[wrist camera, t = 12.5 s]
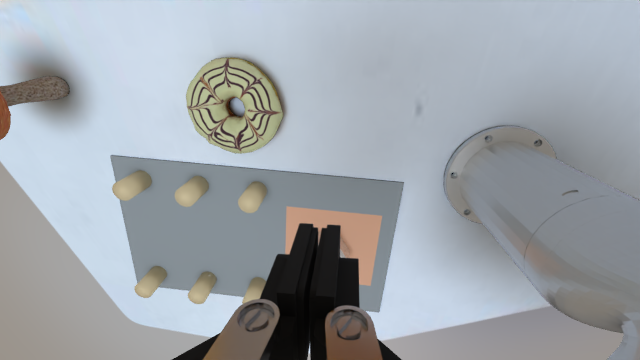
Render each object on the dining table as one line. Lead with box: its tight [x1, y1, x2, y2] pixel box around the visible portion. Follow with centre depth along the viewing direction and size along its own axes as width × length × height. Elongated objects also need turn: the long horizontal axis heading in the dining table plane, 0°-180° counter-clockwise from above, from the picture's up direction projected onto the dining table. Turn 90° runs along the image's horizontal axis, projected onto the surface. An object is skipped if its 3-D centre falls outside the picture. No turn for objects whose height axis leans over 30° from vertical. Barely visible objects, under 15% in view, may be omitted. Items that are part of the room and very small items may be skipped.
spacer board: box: [110, 155, 404, 312], centre depth 42 cm, size 39×22×4 cm, turn 86°
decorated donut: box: [186, 58, 283, 153], centre depth 35 cm, size 10×11×4 cm
